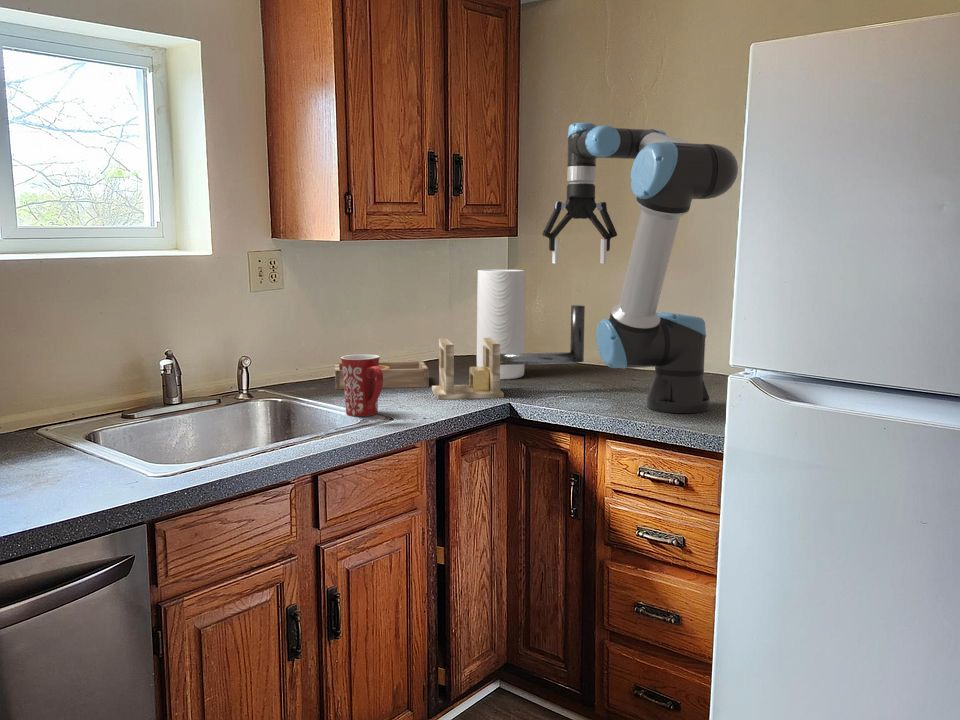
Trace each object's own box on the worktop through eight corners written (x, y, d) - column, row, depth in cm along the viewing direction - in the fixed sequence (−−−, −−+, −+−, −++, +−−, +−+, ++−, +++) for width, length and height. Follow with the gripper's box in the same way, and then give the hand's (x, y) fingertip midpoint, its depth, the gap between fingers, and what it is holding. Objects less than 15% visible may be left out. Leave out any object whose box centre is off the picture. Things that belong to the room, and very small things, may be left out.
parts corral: (428, 386, 234) (428, 368, 233) (335, 389, 229) (335, 371, 229) (422, 377, 249) (422, 361, 248) (335, 380, 244) (334, 363, 244)
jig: (493, 388, 232) (493, 337, 230) (503, 397, 218) (504, 343, 216) (431, 390, 229) (431, 338, 227) (438, 399, 215) (438, 345, 213)
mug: (334, 412, 198) (333, 356, 196) (368, 408, 204) (367, 352, 202) (362, 421, 188) (361, 362, 186) (396, 416, 194) (395, 358, 192)
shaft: (581, 362, 229) (582, 305, 227) (585, 364, 226) (586, 306, 224) (488, 364, 225) (488, 306, 223) (490, 366, 221) (490, 307, 219)
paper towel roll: (511, 381, 242) (512, 271, 238) (468, 377, 249) (468, 270, 245) (532, 374, 255) (533, 270, 251) (490, 371, 262) (490, 269, 257)
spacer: (488, 391, 221) (488, 370, 220) (473, 391, 220) (473, 370, 219) (484, 386, 227) (484, 366, 227) (469, 386, 227) (469, 366, 226)
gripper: (620, 184, 231) (618, 262, 234) (532, 183, 226) (531, 262, 229) (630, 183, 224) (627, 263, 227) (539, 181, 219) (538, 264, 222)
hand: (579, 263), depth 228 cm, fingers open, 13 cm apart
